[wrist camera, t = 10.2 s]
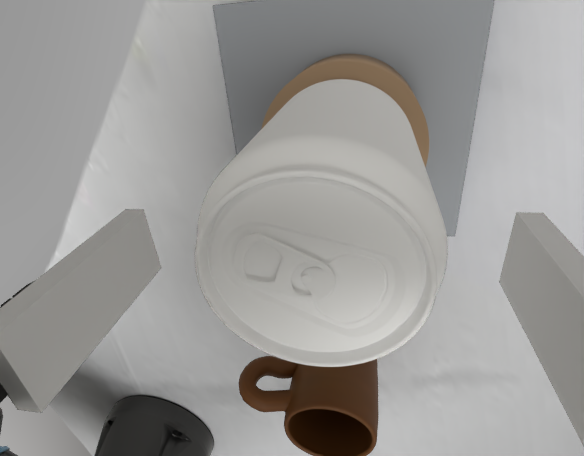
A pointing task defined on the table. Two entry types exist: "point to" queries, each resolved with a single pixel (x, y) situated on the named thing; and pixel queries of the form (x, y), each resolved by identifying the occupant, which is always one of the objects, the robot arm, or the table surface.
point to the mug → (319, 404)
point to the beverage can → (324, 231)
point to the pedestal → (364, 68)
